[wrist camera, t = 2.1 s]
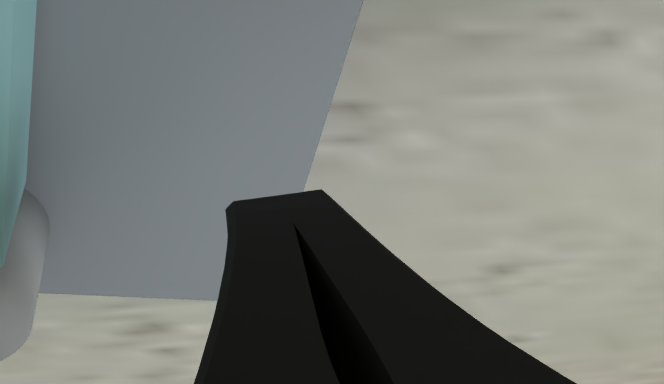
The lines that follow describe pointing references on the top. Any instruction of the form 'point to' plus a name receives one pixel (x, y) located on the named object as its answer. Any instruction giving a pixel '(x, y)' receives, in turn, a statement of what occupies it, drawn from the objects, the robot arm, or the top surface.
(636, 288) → the top surface
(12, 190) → the lock lever
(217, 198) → the post board
